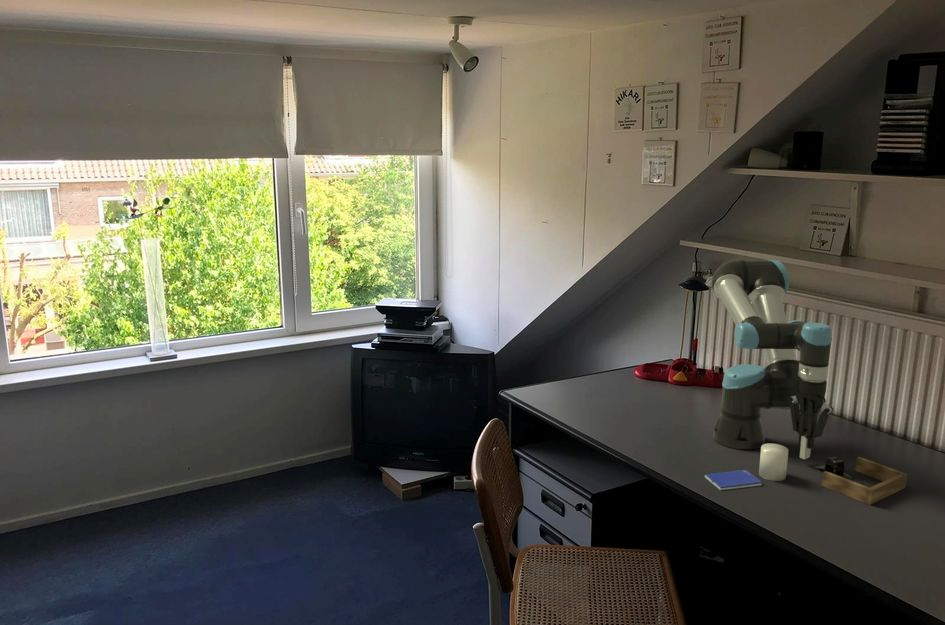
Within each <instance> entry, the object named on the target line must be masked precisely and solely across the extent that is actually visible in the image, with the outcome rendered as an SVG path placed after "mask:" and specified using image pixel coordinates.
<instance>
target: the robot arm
mask: <svg viewBox="0 0 945 625" xmlns="http://www.w3.org/2000/svg"><path fill="white" fill-rule="evenodd" d="M789 283H790V281H789V273H788V270H787V268H786V266H785V265H784V264H783V263H782V262H781V261H780V260H773V259H764V260H761V259H760V260H759V259H756V260H755V259H754V260H753V259H752V260H751V259H743V260H741V259H733V260H729V261H727V262H723V263H722V264H721V265H720V266H719V267H718V268H717V269H716V270H715V271H714V273H713V275H712V278H711V290H712V292H713V293H714V296H715V297H716V298H717V299H719V300H721V302H722V303H723V304H724V305H723V306H724V307H725V308H726V310H727V312H728V314H729V315H730V317H731V319H732V321H733V323H734V325H735V329H734V333H733V334H734V336H733V337H734V342H735V345H736V346H737V347H738V349H746V350H764V355H765V360H766V365H765V367H763V366H760V365H758V364H751V363H747V364H745V363H744V364H742V363H741V364H737V365H736V364H735V365H733V366H730V367H729V368H727V369H726V370H725V371H724V375H723V380H722V383H721V385H722V389H721V390H722V393H721V406H720V407H721V408H720V415H719V417H718V420H717V421H716V424H715V426H714V428H713V435H712V438H713V440H714V441H715V442H716V443H717V444H720V445H722V446H724V447H727V448H732V449H738V450H755V449H759V448H760V449H761V446H762V445H763V444H766V443H765V442H766V435H765V431H764V428H763V424H762V423H763V422H762V419H761V418H762V410H790V418H791V425H792V430H793V431H794V432H796V433H798V445H799V446H800V447H799V448H800V450H799V458H800V459H803V460H806V459H808V458H810V457H811V451H812V450H811V449H813V448H814V447H815V439H817V438H819V437H822V436H823V433H824V431H825V428H826V424H827V422H828V419H829V416H830V414H832V412H833V411H834V407H832V406H829V405H828V404H827V399H826V397H825V396H826V393H827V385H828V384H827V383H828V381H827V380H828V378H829V377H828V376H829V366H830V365H829V363H830V356H831V355H830V353H831V345H832V340H833V338H832V330H833V329H832V327H831V326H830V325H828V324H825V323H821V322H804V321H801V320H791V321H789V322H788V320H787V316H786V312H785V309H784V305H783V300H782V299H783V298H784V297H785V295H786V293H787V292H788V290H789V286H790V285H789ZM795 350H798V351H799V359H797V357H796V352H795ZM820 409H821V410H820ZM820 411H821V413H820ZM819 413H820V414H819ZM818 416H819V417H818Z"/></svg>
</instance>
